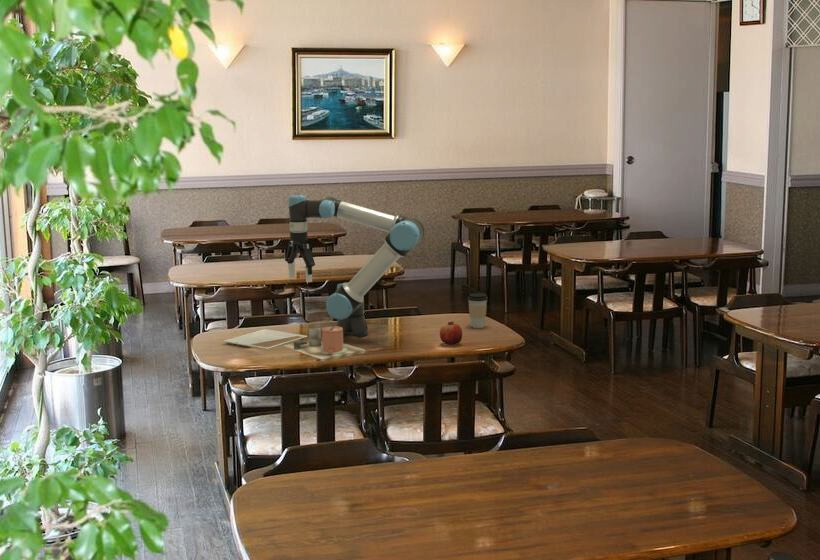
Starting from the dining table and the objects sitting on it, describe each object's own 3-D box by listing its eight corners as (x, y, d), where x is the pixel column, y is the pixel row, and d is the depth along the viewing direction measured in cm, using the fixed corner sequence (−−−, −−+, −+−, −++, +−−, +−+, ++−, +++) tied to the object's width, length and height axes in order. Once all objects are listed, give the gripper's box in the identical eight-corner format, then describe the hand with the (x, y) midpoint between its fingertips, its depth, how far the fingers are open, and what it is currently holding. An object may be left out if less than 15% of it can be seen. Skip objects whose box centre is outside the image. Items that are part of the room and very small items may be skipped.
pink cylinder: (326, 345, 412) (325, 323, 411) (346, 345, 412) (345, 324, 410) (319, 353, 399) (319, 331, 398) (340, 354, 398) (339, 331, 397)
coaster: (337, 346, 413) (337, 345, 413) (352, 351, 405) (352, 349, 404) (315, 351, 406) (315, 349, 406) (330, 356, 398) (330, 354, 398)
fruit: (458, 348, 411) (458, 325, 409) (436, 346, 415) (435, 323, 413) (466, 342, 421) (466, 319, 419) (444, 341, 424) (443, 318, 423)
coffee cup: (474, 323, 456) (474, 292, 454) (492, 326, 451) (491, 294, 448) (463, 327, 449) (463, 295, 446) (481, 330, 443) (481, 297, 441)
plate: (264, 333, 447) (264, 328, 447) (308, 340, 432) (308, 335, 432) (223, 345, 426) (222, 340, 426) (267, 352, 411) (267, 348, 411)
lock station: (325, 340, 430) (324, 321, 429) (365, 352, 407) (365, 333, 406) (281, 348, 417) (281, 329, 415) (321, 361, 393) (320, 342, 392)
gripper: (275, 229, 430) (277, 277, 434) (307, 234, 411) (308, 284, 415) (290, 228, 435) (292, 275, 438) (322, 233, 415) (323, 282, 419)
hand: (300, 280), depth 426 cm, fingers open, 13 cm apart
